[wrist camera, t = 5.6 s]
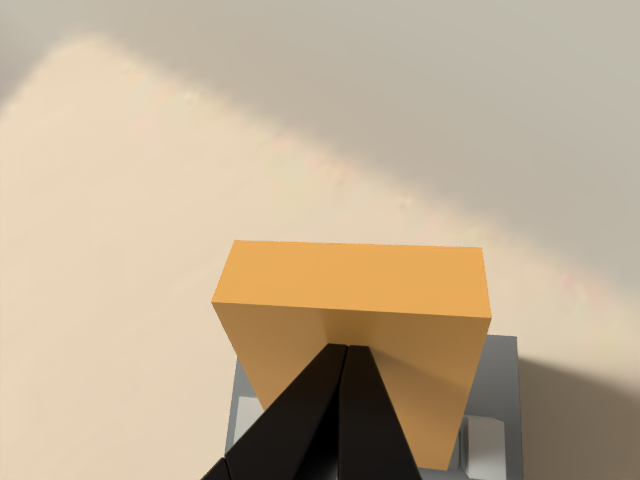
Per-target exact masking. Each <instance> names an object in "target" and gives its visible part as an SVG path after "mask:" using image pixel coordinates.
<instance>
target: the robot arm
mask: <svg viewBox="0 0 640 480" xmlns="http://www.w3.org/2000/svg"><path fill="white" fill-rule="evenodd" d="M224 457H225V458H223V457H222V458H220V460H219V461H218V462H217V463H216V464H215V465H214V466H213V467H212V468H211V469H210V470H209V471H208V472H207V474H206V475H205V476H204V477H203V478H202V479H201V480H336V479H337V480H423V479H422V476H421V474H420V471H419V469H418V467H417V464H416V462H415V459H414V457H413V454H412V452H411V449H410V447H409V444H408V442H407V439H406V437H405V434H404V432H403V429H402V427H401V424H400V422H399V419H398V417H397V414H396V412H395V409H394V407H393V404H392V402H391V399H390V397H389V394H388V392H387V389H386V387H385V384H384V382H383V379H382V377H381V374H380V372H379V369H378V367H377V364H376V362H375V359H374V357H373V354H372V352H371V349H370V347H368V346H360V345H349V346H347V345H344V344H332V343H328V344H327V345H326V346H325V347H324V348H323V349H322V350H321V351H320V352H319V353H318V354H317V355H316V356H315V357H314V358H313V360H312V361H311V362H310V363H309V364H308V365H307V366H306V367H305V368H304V369H303V370H302V371H301V373H300V374H299V375H298V376H297V377H296V378H295V379H294V380H293V381H292V382H291V383H290V384H289V385H288V387H287V388H286V389H285V390H284V391H283V392H282V393H281V394H280V395H279V396H278V397H277V398H276V399H275V401H274V402H273V403H272V404H271V405H270V406H269V407H268V408H267V409H266V410H265V411H264V412H263V413H262V415H261V416H260V417H259V418H258V419H257V420H256V421H255V422H254V423H253V424H252V425H251V426H250V427H249V429H248V430H247V431H246V432H245V433H244V434H243V435H242V436H241V437H240V438H239V439H238V440H237V441H236V443H235V444H234V445H233V446H232V447H231V448H230V449H229V450H228V451H227V452H226V453H225V455H224Z"/></svg>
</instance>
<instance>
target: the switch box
mask: <svg viewBox="0 0 640 480" xmlns="http://www.w3.org/2000/svg"><path fill="white" fill-rule="evenodd" d="M263 412H264V410H263V408H262V406H261V404H260V402H259V400H258V398H257V396H256V393H255V391H254V389H253V387H252V385H251V383H250V381H249V379H248V377H247V375H246V373H245V371H244V369H243V367H242V365H241V363H240V360H239V358H238V356H237V363H236V370H235V378H234V386H233V393H232V401H231V408H230V416H229V424H228V431H227V439H226V447H225V453H226V452H227V451H228V450H229V449H230V448H231V447H232V446H233V445H234V444H235V443H236V441H237V440H238V439H239V438H240V437H241V436H242V435H243V434H244V433H245V432H246V431H247V430H248V429H249V427H250V426H251V425H252V424H253V423H254V422H255V421H256V420H257V419H258V418H259V417H260V416H261V415H262V413H263ZM458 437H459V461H458V468H457V469H449V468H448V469H447V471H445V470H437V469H428V468H420V467H418V469H419V471H420V474H421V476H422V479H423V480H523V459H522V438H521V417H520V396H519V375H518V353H517V337H515V336H500V335H486V339H485V342H484V346H483V349H482V352H481V356H480V359H479V363H478V366H477V370H476V373H475V376H474V380H473V383H472V387H471V390H470V394H469V397H468V401H467V404H466V407H465V411H464V414H463V418H462V421H461V425H460V428H459V431H458ZM224 455H225V454H224ZM224 458H225V457H224ZM336 480H337V479H336Z"/></svg>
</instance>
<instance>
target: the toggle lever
mask: <svg viewBox="0 0 640 480" xmlns="http://www.w3.org/2000/svg"><path fill="white" fill-rule="evenodd" d="M211 303H212V305H213V307H214V309H215V311H216V313H217V315H218V317H219V319H220V321H221V323H222V325H223V327H224V330H225V332H226V334H227V336H228V338H229V340H230V342H231V344H232V346H233V348H234V350H235V352H236V354H237V356H238V358H239V360H240V363H241V365H242V367H243V369H244V371H245V373H246V375H247V377H248V379H249V381H250V383H251V385H252V387H253V389H254V391H255V393H256V396H257V398H258V400H259V402H260V404H261V406H262V408H263V410H264V411H265V410H266V409H267V408H268V407H269V406H270V405H271V404H272V403H273V402H274V401H275V399H276V398H277V397H278V396H279V395H280V394H281V393H282V392H283V391H284V390H285V389H286V388H287V387H288V385H289V384H290V383H291V382H292V381H293V380H294V379H295V378H296V377H297V376H298V375H299V374H300V373H301V371H302V370H303V369H304V368H305V367H306V366H307V365H308V364H309V363H310V362H311V361H312V360H313V358H314V357H315V356H316V355H317V354H318V353H319V352H320V351H321V350H322V349H323V348H324V347H325V346H326V345H327V344H328V343H332V344H344V345H347V346H349V345H360V346H368V347H370V349H371V352H372V354H373V357H374V359H375V362H376V364H377V367H378V369H379V372H380V374H381V377H382V379H383V382H384V384H385V387H386V389H387V392H388V394H389V397H390V399H391V402H392V404H393V407H394V409H395V412H396V414H397V417H398V419H399V422H400V424H401V427H402V429H403V432H404V434H405V437H406V439H407V442H408V444H409V447H410V449H411V452H412V454H413V457H414V459H415V462H416V464H417V467H420V468H428V469H437V470H445V471H447V469H448V468H449V469H457V468H458V461H459V437H458V431H459V428H460V425H461V421H462V418H463V414H464V411H465V407H466V404H467V401H468V397H469V394H470V390H471V387H472V383H473V380H474V376H475V373H476V370H477V366H478V363H479V359H480V356H481V352H482V349H483V346H484V342H485V339H486V335H487V332H488V328H489V325H490V322H491V318H492V317H491V310H490V303H489V296H488V288H487V281H486V274H485V267H484V260H483V253H482V248H475V247H442V246H408V245H375V244H341V243H308V242H274V241H241V240H235V241H234V243H233V246H232V248H231V251H230V254H229V256H228V259H227V261H226V264H225V267H224V269H223V272H222V275H221V277H220V280H219V282H218V285H217V288H216V290H215V293H214V296H213V298H212V301H211Z"/></svg>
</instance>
